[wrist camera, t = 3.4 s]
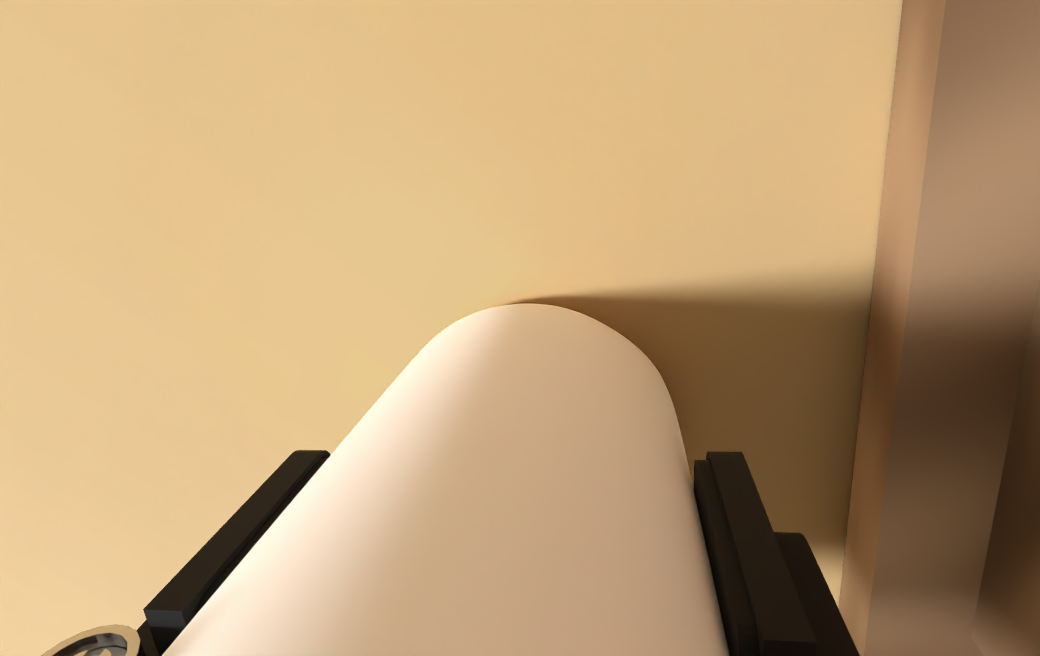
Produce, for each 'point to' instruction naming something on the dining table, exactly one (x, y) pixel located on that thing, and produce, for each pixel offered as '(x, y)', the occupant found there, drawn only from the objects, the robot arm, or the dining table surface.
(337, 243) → the dining table surface
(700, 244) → the dining table surface
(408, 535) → the can
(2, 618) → the dining table surface
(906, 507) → the caddy
